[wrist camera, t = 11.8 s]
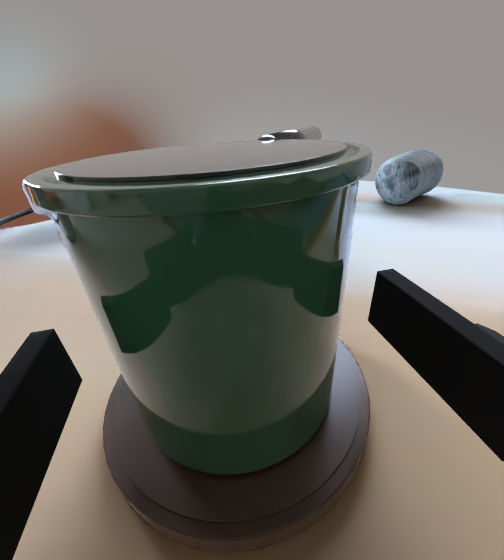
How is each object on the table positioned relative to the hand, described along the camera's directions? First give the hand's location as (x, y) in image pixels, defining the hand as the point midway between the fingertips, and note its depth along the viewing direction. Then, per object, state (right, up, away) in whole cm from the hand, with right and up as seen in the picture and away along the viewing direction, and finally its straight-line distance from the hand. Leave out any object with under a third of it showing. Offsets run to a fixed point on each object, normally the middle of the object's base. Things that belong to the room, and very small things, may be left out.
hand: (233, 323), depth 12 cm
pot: (+2, -1, +9) cm, 9 cm away
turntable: (0, -5, +6) cm, 8 cm away
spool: (+29, +17, +40) cm, 52 cm away
